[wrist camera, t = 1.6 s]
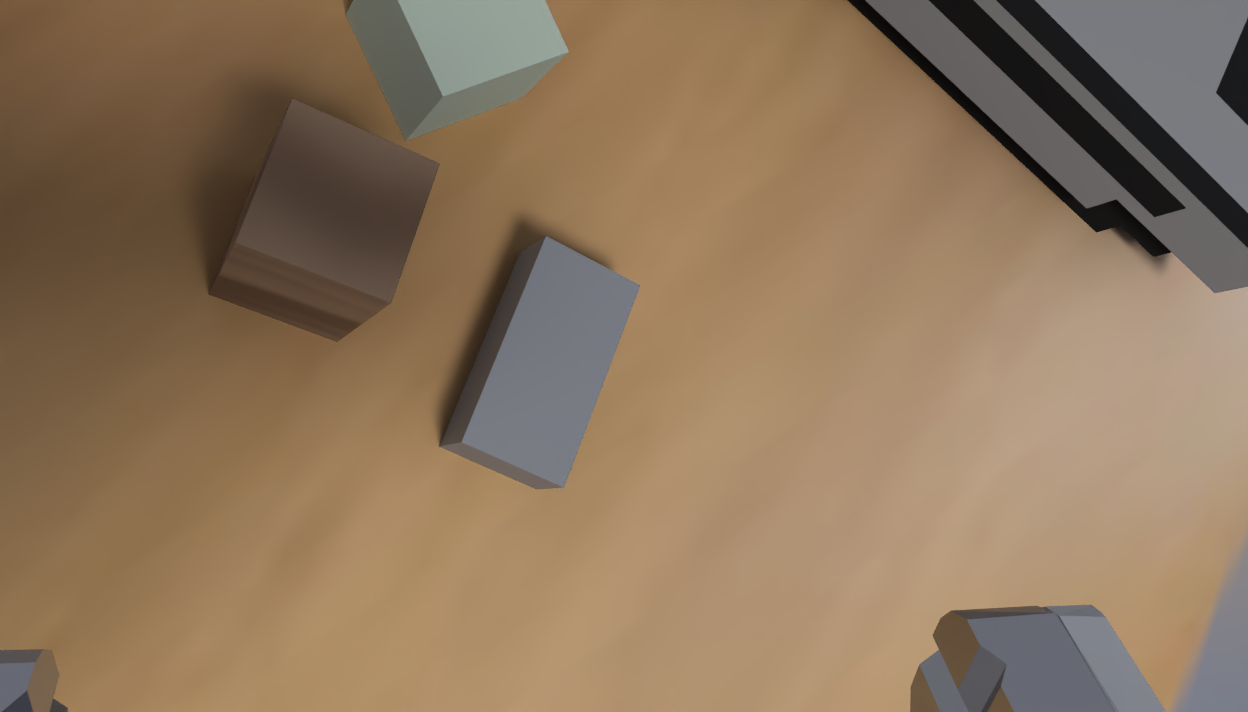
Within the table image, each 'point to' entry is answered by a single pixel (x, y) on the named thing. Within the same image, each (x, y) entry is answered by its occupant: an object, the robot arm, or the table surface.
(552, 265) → the grey flat brick
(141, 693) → the table surface
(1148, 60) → the game console
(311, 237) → the walnut column
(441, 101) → the sage cube
